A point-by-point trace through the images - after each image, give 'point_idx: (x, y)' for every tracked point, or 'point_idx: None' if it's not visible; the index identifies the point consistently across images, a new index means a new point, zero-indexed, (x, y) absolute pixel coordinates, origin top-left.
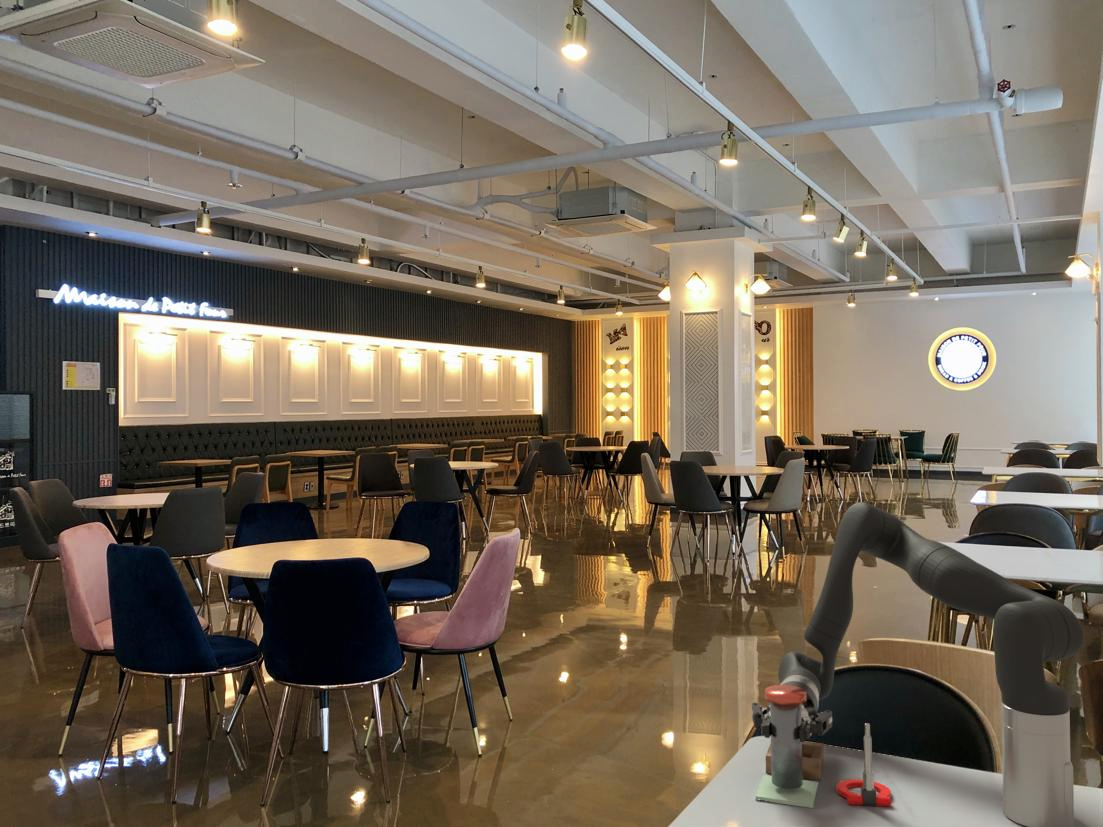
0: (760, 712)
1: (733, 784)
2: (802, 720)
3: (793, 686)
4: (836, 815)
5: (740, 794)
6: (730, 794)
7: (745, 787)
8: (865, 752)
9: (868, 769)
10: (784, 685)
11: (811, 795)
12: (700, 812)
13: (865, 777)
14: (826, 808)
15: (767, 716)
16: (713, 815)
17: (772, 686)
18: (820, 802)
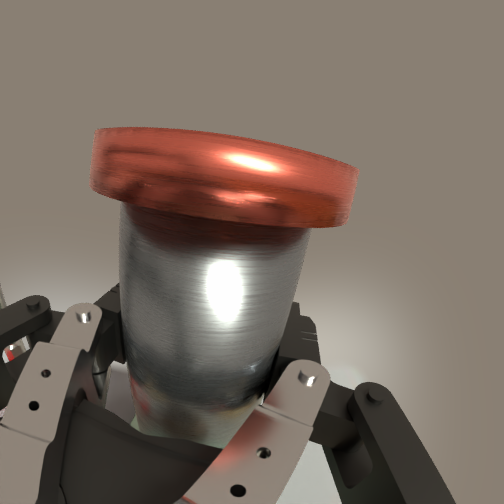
0: (364, 411)
1: (333, 489)
2: (96, 348)
3: (138, 128)
4: (113, 371)
5: (306, 447)
6: None
7: (302, 483)
8: (3, 296)
9: None
10: (221, 136)
11: (136, 428)
12: (351, 374)
13: (22, 345)
14: (120, 395)
15: (307, 363)
16: (331, 370)
17: (331, 161)
18: (122, 418)
